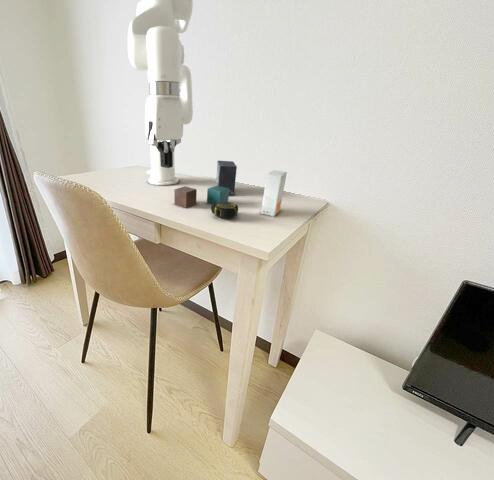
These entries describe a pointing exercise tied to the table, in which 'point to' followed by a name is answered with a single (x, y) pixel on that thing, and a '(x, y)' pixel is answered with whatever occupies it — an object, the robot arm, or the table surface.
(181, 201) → the walnut block
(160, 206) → the table surface
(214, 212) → the tape measure
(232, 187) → the small box
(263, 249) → the table surface
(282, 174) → the cosmetic box
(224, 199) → the teal block
